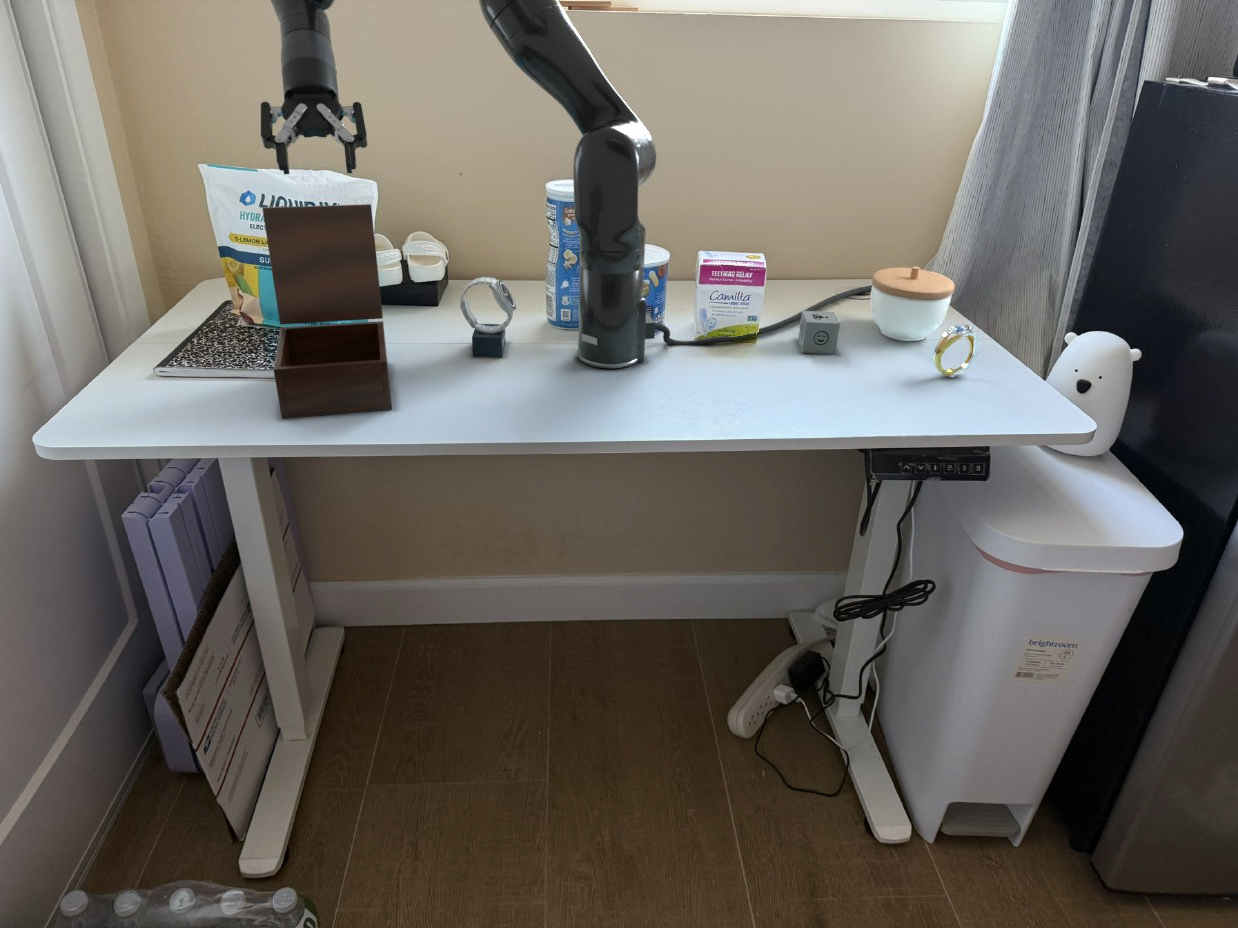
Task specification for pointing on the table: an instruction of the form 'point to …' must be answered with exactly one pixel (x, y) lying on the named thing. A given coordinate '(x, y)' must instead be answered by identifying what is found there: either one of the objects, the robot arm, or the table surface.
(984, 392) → the table surface
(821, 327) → the dice cube
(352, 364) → the case
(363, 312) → the lid
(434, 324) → the table surface
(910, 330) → the lidded bowl
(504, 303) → the watch
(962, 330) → the ring
